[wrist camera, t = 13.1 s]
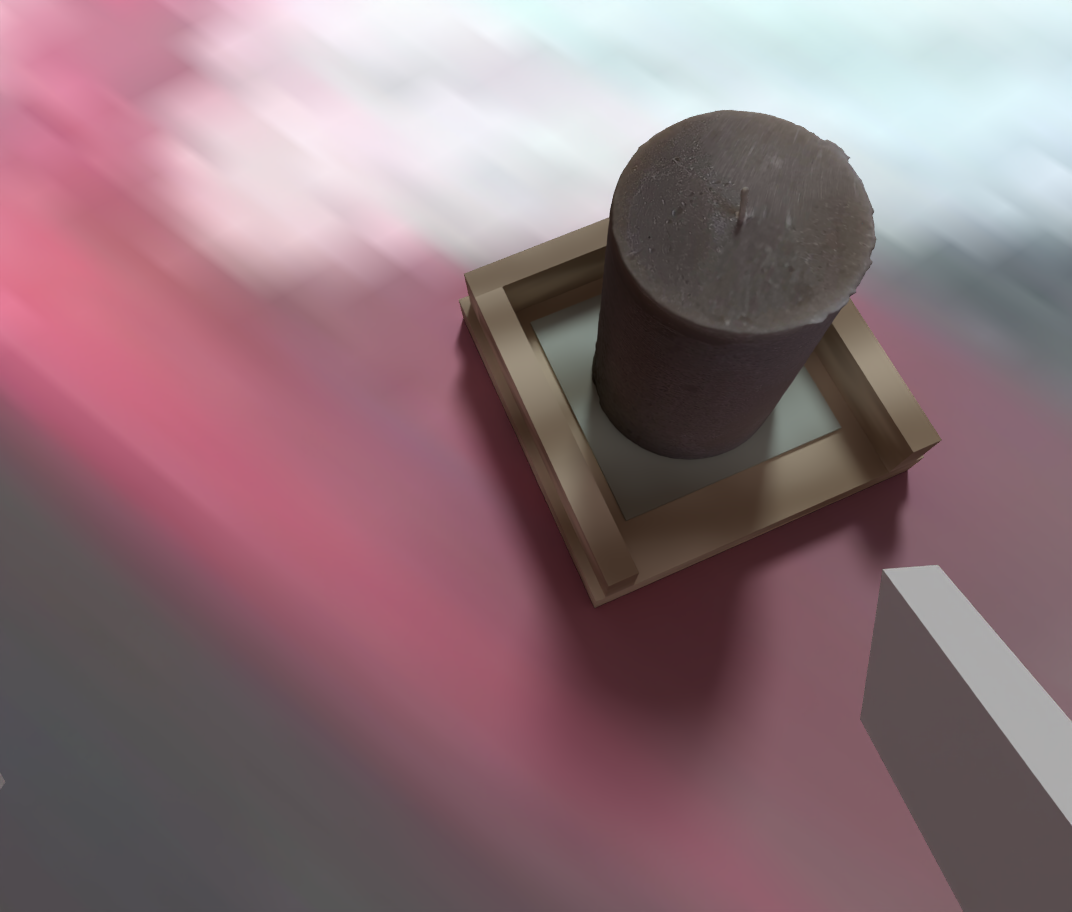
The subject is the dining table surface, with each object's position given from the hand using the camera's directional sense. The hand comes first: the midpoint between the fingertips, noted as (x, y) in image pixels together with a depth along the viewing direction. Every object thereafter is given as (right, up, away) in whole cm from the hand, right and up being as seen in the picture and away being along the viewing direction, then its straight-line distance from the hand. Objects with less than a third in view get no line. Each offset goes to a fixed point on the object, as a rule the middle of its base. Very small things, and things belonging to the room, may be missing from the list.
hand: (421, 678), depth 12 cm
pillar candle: (+10, +7, +31) cm, 33 cm away
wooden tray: (+9, +7, +33) cm, 35 cm away
